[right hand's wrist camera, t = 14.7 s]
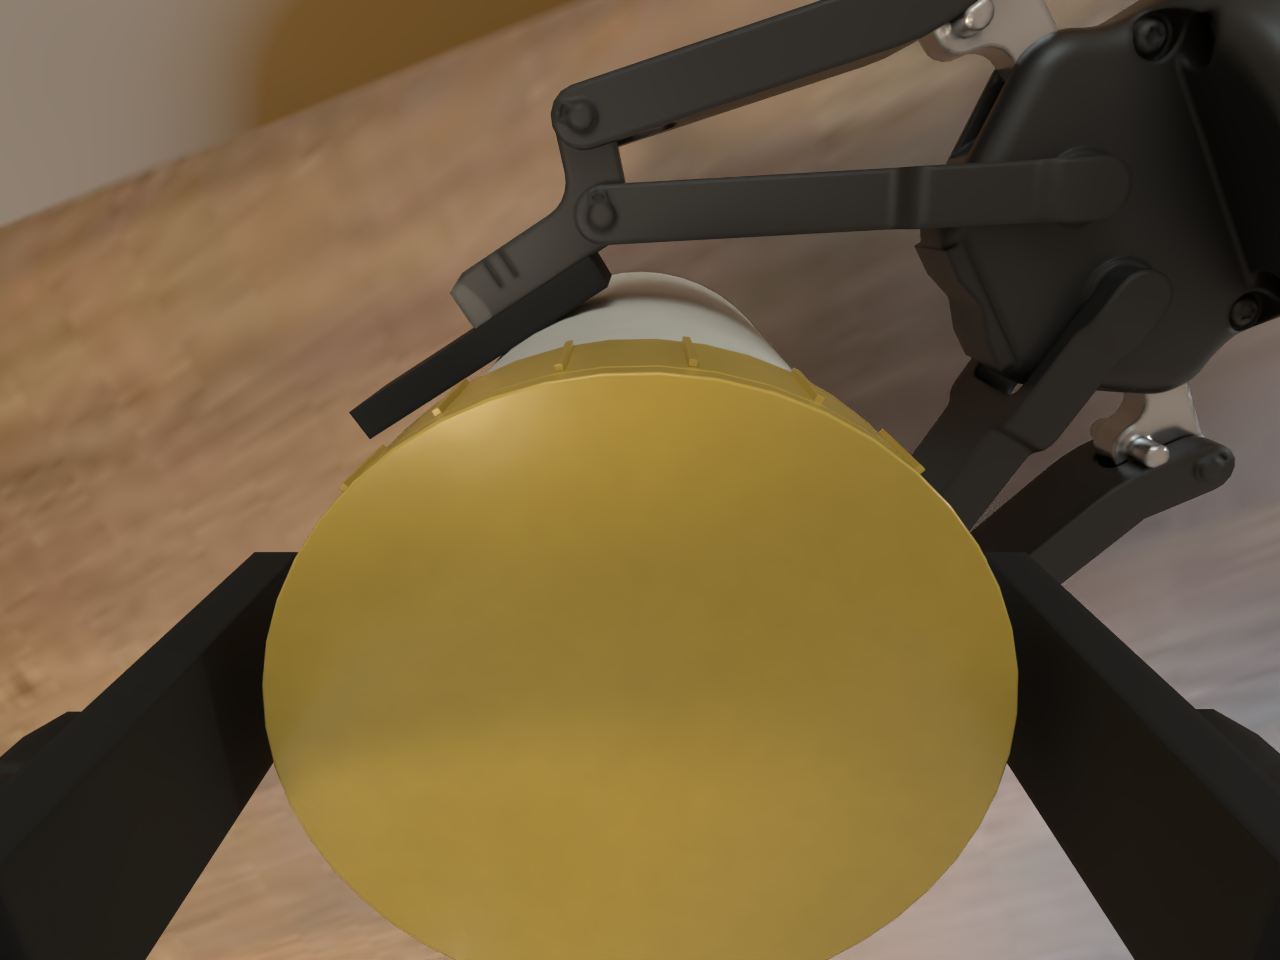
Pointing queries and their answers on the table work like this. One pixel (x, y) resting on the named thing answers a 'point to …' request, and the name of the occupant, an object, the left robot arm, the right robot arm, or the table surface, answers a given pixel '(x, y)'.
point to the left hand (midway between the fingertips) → (500, 570)
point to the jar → (650, 319)
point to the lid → (640, 667)
